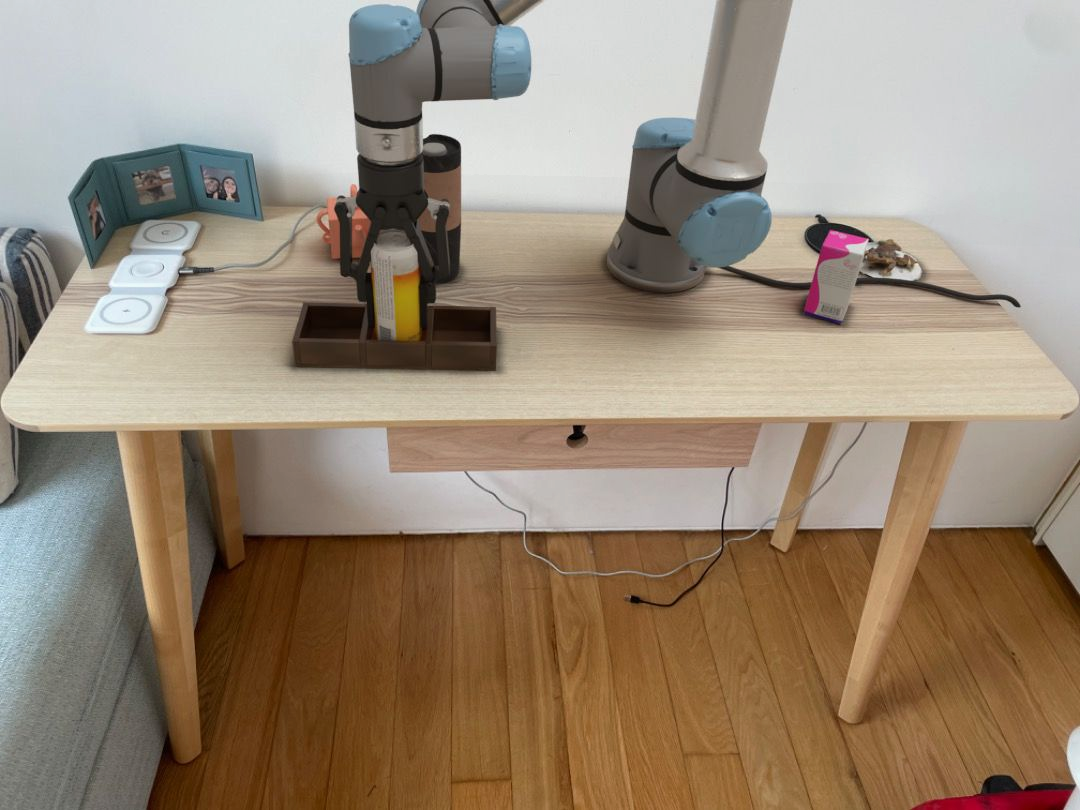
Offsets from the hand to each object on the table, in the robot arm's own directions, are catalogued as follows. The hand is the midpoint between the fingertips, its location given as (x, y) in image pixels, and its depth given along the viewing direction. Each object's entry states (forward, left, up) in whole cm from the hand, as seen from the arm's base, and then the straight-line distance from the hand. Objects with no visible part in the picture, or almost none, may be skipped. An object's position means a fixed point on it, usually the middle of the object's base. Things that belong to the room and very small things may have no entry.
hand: (398, 321), depth 118 cm
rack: (0, 0, -4) cm, 4 cm away
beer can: (0, 0, -3) cm, 3 cm away
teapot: (+8, -26, -4) cm, 28 cm away
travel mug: (-4, -20, -4) cm, 21 cm away
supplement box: (-62, -12, -4) cm, 63 cm away
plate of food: (-76, -26, -4) cm, 80 cm away
